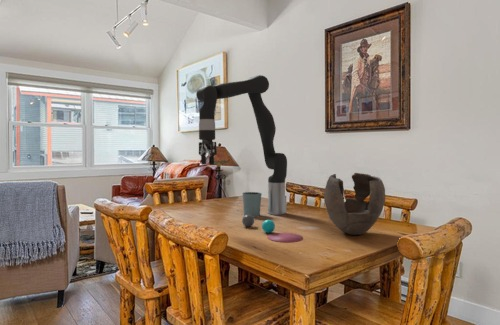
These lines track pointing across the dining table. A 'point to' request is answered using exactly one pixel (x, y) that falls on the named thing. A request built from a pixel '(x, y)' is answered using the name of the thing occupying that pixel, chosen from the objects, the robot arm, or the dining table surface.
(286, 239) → the plum mark
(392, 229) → the dining table surface
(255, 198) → the drinking glass
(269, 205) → the robot arm
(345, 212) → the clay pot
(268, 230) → the teal ball
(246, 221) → the gray ball
